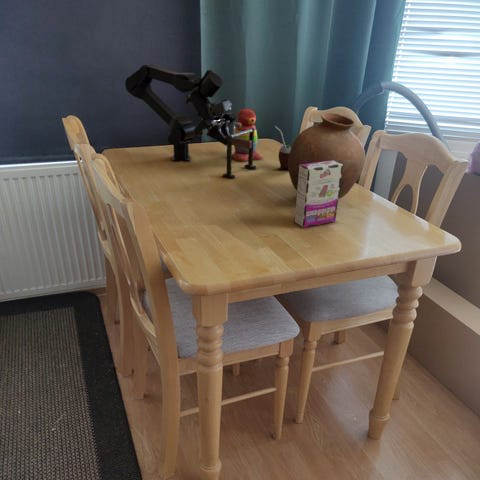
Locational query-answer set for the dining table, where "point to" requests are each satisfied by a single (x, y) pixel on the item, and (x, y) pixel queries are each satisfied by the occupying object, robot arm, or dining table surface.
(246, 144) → the hanger
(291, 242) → the dining table surface
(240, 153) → the stacking bear
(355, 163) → the pottery
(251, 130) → the clothes rail
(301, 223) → the candy bar box
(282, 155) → the mate gourd
